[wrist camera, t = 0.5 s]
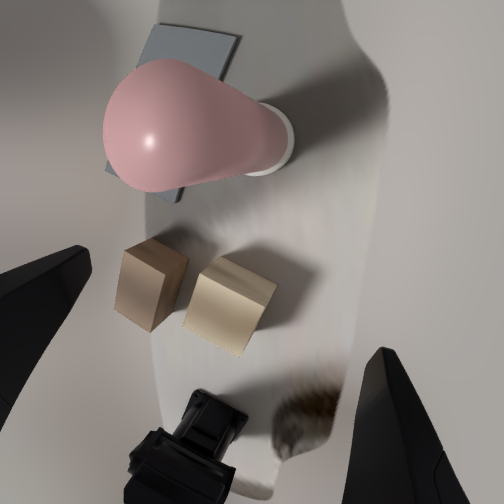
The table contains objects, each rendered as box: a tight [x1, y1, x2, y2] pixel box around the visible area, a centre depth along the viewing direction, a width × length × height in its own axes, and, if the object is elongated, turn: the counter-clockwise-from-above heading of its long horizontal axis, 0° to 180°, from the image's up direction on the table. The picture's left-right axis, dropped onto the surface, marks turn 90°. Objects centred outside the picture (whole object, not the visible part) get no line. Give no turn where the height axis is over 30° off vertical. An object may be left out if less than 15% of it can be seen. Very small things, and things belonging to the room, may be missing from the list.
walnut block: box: [114, 238, 189, 333], centre depth 25 cm, size 6×4×4 cm, turn 158°
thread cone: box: [103, 59, 295, 192], centre depth 15 cm, size 5×5×13 cm
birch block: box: [182, 256, 277, 358], centre depth 23 cm, size 5×5×4 cm
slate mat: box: [105, 24, 238, 203], centre depth 22 cm, size 14×8×1 cm, turn 158°
